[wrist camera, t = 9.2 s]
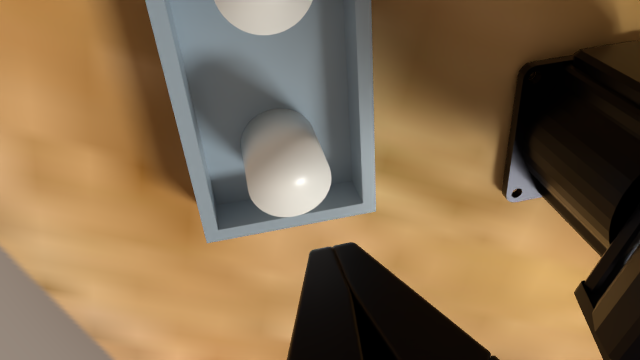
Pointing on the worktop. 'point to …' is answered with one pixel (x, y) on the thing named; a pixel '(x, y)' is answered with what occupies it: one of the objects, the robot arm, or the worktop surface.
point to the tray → (271, 108)
